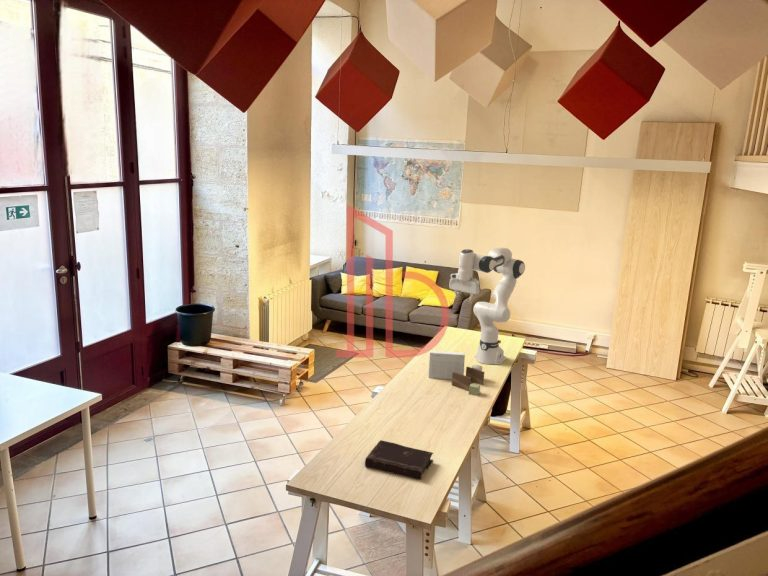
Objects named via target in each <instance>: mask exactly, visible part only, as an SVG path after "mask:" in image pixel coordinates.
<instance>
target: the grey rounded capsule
mask: <svg viewBox="0 0 768 576" xmlns="http://www.w3.org/2000/svg"><path fill="white" fill-rule="evenodd" d="M471 368H474V369H477V370H480V371H483V366H482V365H479V364H473V365H471Z"/></svg>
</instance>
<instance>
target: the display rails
mask: <svg viewBox="0 0 768 576" xmlns="http://www.w3.org/2000/svg"><path fill="white" fill-rule="evenodd" d="M484 380H485V371H483V370H482V371H480V370H477V369H474V368H472V366H471V367H470V366H466V369H465V375H461V374H458V373H455V372H453V375H452V379H451V386H453V387H456V388H458V389H461V390H463V391H467V392H469V386H470V385H471V383H473V384H479V385H480V386H483V385H484V382H485V381H484Z"/></svg>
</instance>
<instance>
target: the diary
mask: <svg viewBox="0 0 768 576" xmlns="http://www.w3.org/2000/svg"><path fill="white" fill-rule="evenodd" d="M433 455H434V453H433V452H431V451H427V450H424V449H423V450H422V449H418V448H413V447H409V446H405V445H402V444H399V443H395V442H391V441H386V440H379V441H378V442H377V444H375V446H374V447H373V448H372V450H371V451H370V452H369V453H368V455H367V456H366V457H365V459H364V460H365V461H364V467H365V468H368V469H374V470H378V471H383V472H387V473H391V474H394V475H400V476H403V477H404V476H405V477H408V478H412V479H416V480H420V481H422V475H423V473H425V470H429V467H430V466H431V464H432V463H433V461H434V459H431V457H432V456H433Z"/></svg>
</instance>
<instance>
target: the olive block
mask: <svg viewBox="0 0 768 576" xmlns="http://www.w3.org/2000/svg"><path fill="white" fill-rule="evenodd" d="M480 390H481V385H480V384H477V383H474V382H471V383H470V386H469V391H468V395H470V396H476V397H478V396H479V394H480V392H481V391H480Z"/></svg>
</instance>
